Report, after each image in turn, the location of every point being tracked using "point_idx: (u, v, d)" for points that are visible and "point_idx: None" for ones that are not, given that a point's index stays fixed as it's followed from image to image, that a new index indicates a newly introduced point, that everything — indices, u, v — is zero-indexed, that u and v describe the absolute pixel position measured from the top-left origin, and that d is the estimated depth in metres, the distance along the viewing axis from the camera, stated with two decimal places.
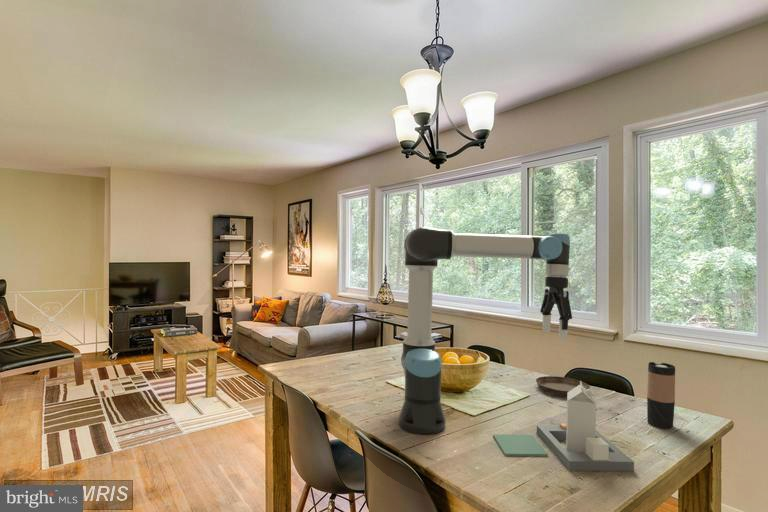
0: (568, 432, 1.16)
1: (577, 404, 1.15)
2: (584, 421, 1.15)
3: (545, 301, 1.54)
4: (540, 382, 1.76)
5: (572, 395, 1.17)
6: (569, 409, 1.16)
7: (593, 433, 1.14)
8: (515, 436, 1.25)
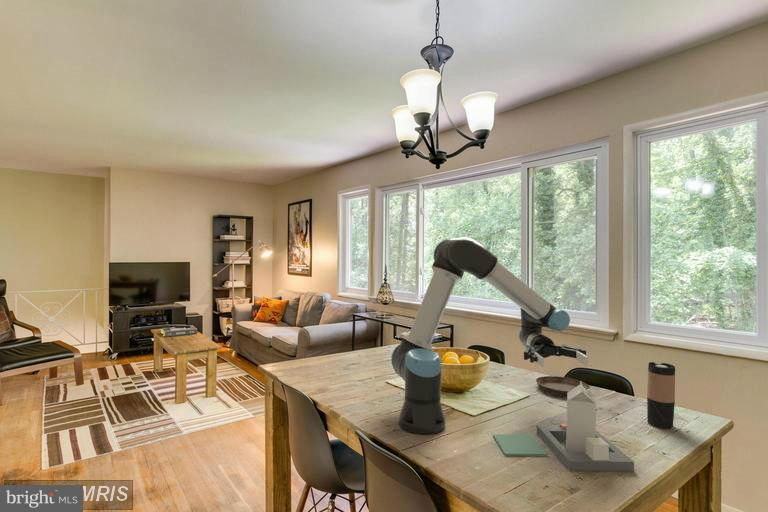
0: (568, 432, 1.16)
1: (577, 404, 1.15)
2: (584, 421, 1.15)
3: (529, 350, 1.39)
4: (540, 382, 1.76)
5: (572, 395, 1.17)
6: (569, 409, 1.16)
7: (593, 433, 1.14)
8: (515, 436, 1.25)
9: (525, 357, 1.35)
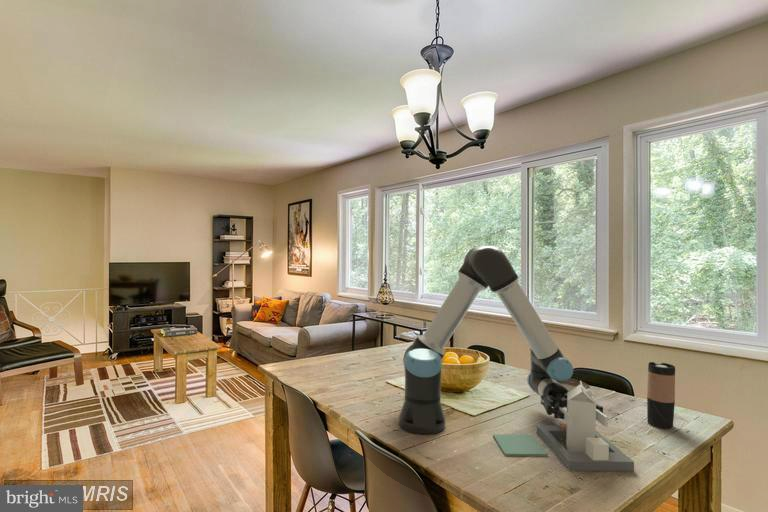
0: (568, 432, 1.16)
1: (577, 404, 1.15)
2: (584, 421, 1.15)
3: None
4: None
5: (572, 395, 1.17)
6: (569, 409, 1.16)
7: (593, 433, 1.14)
8: (515, 436, 1.25)
9: (549, 412, 1.21)
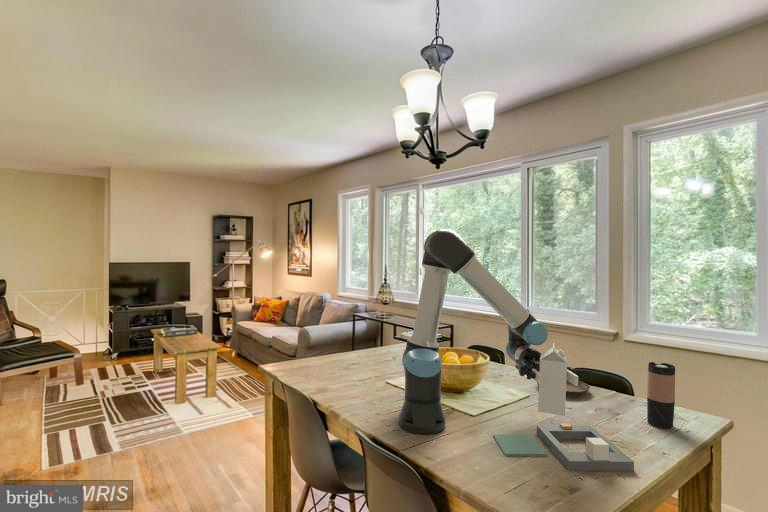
0: (539, 391, 1.17)
1: (548, 364, 1.16)
2: (555, 381, 1.15)
3: (522, 365, 1.27)
4: None
5: (544, 355, 1.18)
6: (541, 369, 1.17)
7: (564, 392, 1.15)
8: (515, 436, 1.25)
9: (522, 373, 1.22)
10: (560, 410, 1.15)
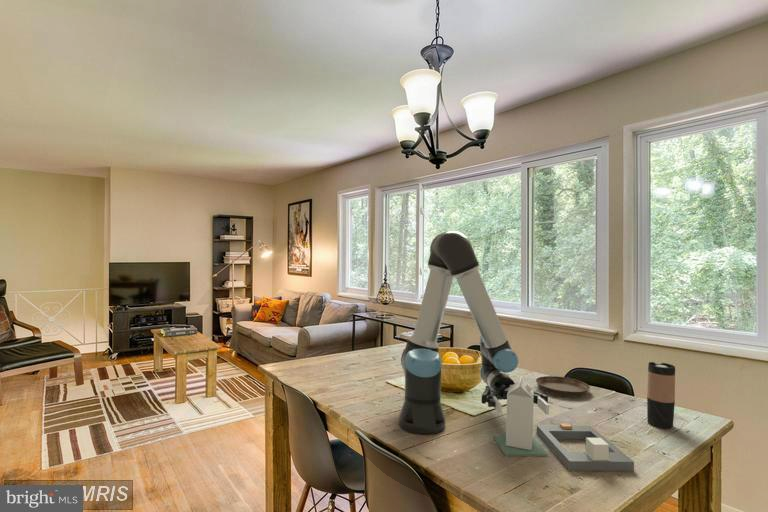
0: (507, 426, 1.18)
1: (515, 398, 1.17)
2: (522, 415, 1.17)
3: (488, 392, 1.28)
4: (540, 382, 1.76)
5: (511, 389, 1.19)
6: (508, 403, 1.18)
7: (530, 427, 1.16)
8: None
9: (483, 400, 1.24)
10: (527, 444, 1.16)
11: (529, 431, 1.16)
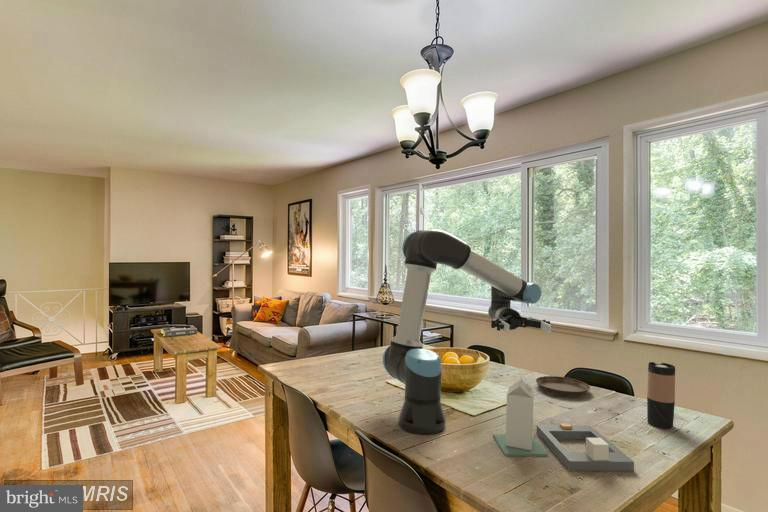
0: (507, 426, 1.18)
1: (515, 399, 1.17)
2: (522, 415, 1.16)
3: (497, 320, 1.44)
4: (540, 382, 1.76)
5: (511, 390, 1.19)
6: (507, 403, 1.18)
7: (530, 427, 1.16)
8: None
9: (492, 325, 1.40)
10: (527, 444, 1.16)
11: (529, 431, 1.16)
